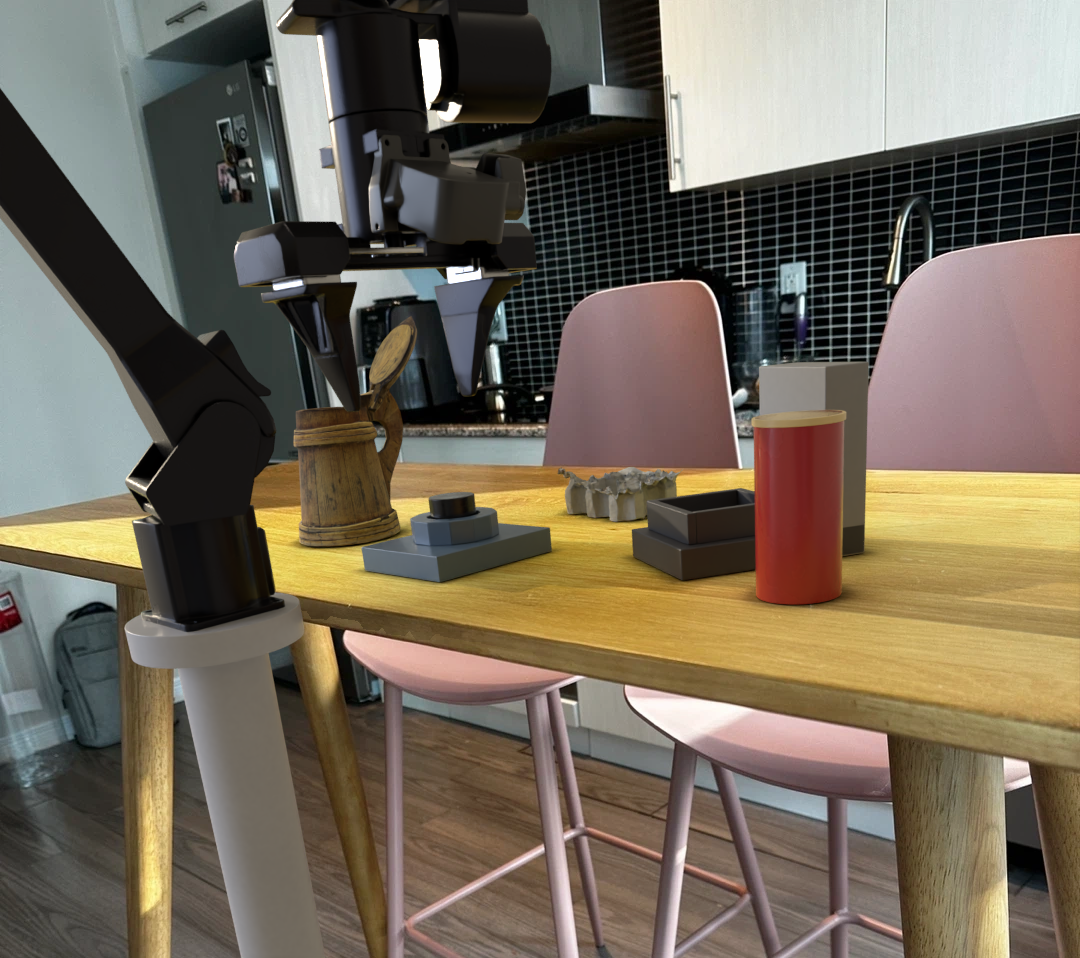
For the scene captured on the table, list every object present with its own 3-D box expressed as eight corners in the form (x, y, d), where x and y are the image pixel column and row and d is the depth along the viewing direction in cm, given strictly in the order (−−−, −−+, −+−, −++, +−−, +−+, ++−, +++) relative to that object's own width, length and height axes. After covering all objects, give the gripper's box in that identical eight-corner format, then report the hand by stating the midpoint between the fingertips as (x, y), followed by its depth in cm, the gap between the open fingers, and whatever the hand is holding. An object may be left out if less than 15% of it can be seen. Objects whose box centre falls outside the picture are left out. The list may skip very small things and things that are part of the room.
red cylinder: (790, 610, 56) (789, 421, 53) (737, 594, 61) (733, 418, 57) (862, 594, 58) (866, 410, 55) (805, 579, 62) (806, 409, 59)
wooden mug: (462, 524, 93) (438, 311, 87) (323, 551, 86) (286, 322, 80) (416, 516, 100) (391, 319, 94) (284, 540, 93) (248, 329, 87)
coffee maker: (682, 580, 65) (674, 382, 61) (632, 557, 73) (622, 380, 69) (864, 553, 68) (869, 361, 64) (797, 533, 76) (797, 362, 72)
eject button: (451, 524, 74) (448, 500, 73) (421, 522, 76) (419, 498, 76) (486, 516, 76) (483, 492, 76) (456, 514, 79) (454, 491, 78)
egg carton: (555, 513, 95) (551, 468, 93) (623, 500, 98) (620, 457, 97) (619, 524, 86) (615, 474, 85) (691, 510, 89) (689, 462, 88)
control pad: (440, 582, 71) (433, 532, 70) (364, 570, 77) (357, 524, 76) (552, 551, 78) (548, 504, 77) (474, 542, 84) (469, 499, 83)
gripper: (317, 72, 48) (366, 419, 53) (590, 103, 60) (608, 384, 65) (204, 122, 55) (257, 421, 61) (466, 141, 67) (491, 390, 73)
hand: (413, 403), depth 65 cm, fingers open, 9 cm apart
